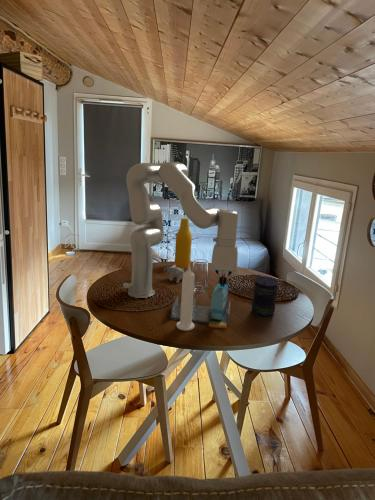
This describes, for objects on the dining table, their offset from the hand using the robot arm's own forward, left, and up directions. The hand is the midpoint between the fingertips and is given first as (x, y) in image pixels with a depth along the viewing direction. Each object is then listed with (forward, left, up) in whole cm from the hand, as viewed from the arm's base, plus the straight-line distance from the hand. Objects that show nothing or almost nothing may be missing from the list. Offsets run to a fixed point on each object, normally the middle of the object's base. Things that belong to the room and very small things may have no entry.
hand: (222, 285), depth 146 cm
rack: (-8, -1, -14) cm, 16 cm away
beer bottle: (-26, +61, -15) cm, 68 cm away
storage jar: (+18, +9, -15) cm, 25 cm away
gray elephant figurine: (-27, +38, -15) cm, 49 cm away
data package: (-1, 0, -13) cm, 13 cm away
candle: (-13, -12, -15) cm, 22 cm away
